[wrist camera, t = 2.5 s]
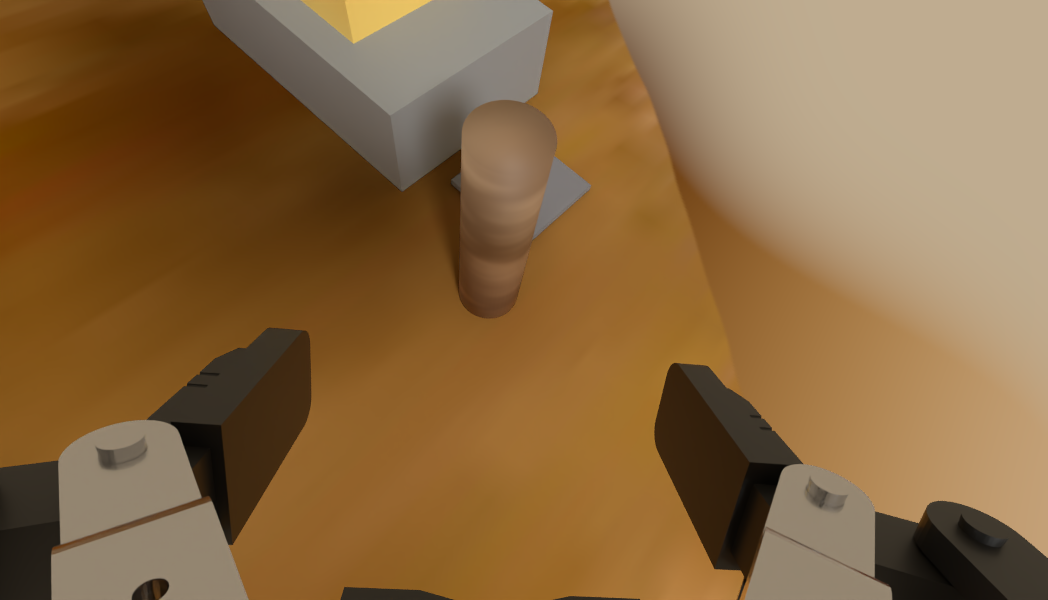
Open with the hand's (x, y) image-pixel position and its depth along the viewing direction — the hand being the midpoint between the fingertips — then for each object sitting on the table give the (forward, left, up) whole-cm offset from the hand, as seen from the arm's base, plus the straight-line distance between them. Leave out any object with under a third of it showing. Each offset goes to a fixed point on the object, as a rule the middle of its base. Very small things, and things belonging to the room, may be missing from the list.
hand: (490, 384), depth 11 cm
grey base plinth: (-23, +14, -14) cm, 30 cm away
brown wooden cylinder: (-6, +7, -14) cm, 17 cm away
